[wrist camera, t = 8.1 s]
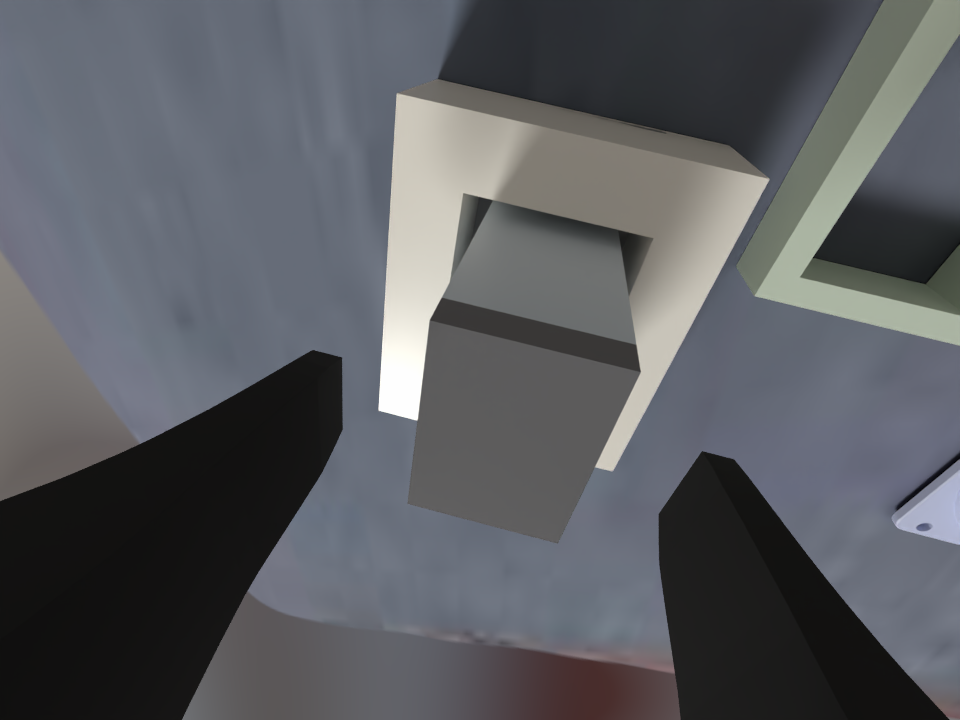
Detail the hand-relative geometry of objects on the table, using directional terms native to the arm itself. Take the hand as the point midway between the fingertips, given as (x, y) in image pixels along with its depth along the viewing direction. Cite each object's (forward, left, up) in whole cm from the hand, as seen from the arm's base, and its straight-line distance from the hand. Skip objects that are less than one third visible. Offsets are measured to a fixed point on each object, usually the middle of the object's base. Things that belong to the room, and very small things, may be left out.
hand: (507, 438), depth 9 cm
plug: (0, 0, -8) cm, 8 cm away
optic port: (0, 0, -8) cm, 8 cm away
